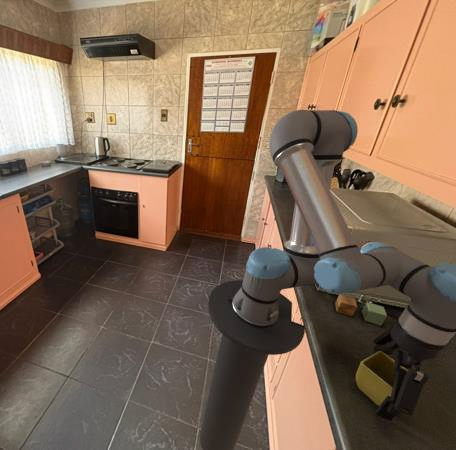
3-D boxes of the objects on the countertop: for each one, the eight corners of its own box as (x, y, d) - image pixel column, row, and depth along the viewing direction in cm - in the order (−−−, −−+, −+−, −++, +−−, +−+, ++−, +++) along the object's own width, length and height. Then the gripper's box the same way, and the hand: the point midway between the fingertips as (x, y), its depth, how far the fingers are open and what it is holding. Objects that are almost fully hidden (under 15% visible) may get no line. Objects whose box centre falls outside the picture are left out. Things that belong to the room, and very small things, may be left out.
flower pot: (365, 371, 67) (380, 349, 63) (405, 403, 60) (424, 381, 56) (345, 384, 64) (359, 362, 60) (384, 419, 57) (403, 397, 53)
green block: (364, 320, 83) (370, 310, 81) (361, 311, 87) (367, 302, 85) (381, 325, 81) (387, 316, 79) (377, 316, 85) (383, 306, 83)
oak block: (336, 311, 86) (341, 302, 84) (335, 303, 90) (339, 293, 88) (351, 316, 84) (357, 306, 82) (349, 307, 88) (354, 298, 86)
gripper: (479, 394, 41) (413, 454, 51) (421, 301, 60) (381, 358, 70) (419, 372, 44) (368, 433, 54) (383, 291, 63) (350, 347, 73)
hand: (376, 391), depth 62 cm, fingers closed on flower pot, 12 cm apart
